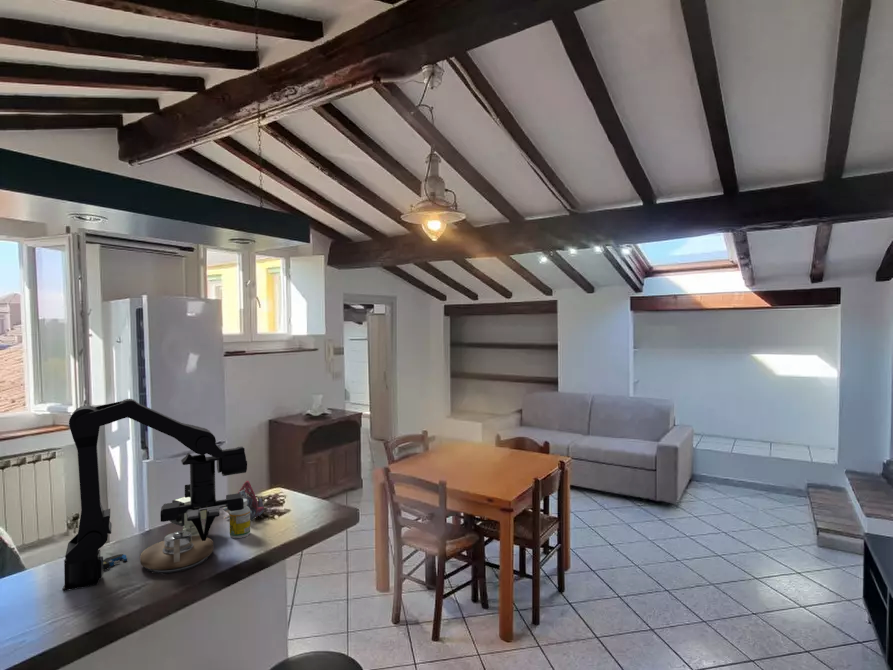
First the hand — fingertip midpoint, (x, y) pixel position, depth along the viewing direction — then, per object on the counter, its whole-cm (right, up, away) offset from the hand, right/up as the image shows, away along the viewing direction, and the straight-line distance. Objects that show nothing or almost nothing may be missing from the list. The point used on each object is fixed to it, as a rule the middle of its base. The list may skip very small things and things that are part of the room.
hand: (203, 540), depth 129 cm
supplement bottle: (+4, -4, +13) cm, 14 cm away
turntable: (-5, -2, -3) cm, 6 cm away
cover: (-5, -1, -3) cm, 6 cm away
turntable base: (-5, -4, -3) cm, 7 cm away
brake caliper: (0, -4, +27) cm, 27 cm away
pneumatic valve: (-9, -4, +12) cm, 16 cm away
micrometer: (-22, -5, -6) cm, 23 cm away
